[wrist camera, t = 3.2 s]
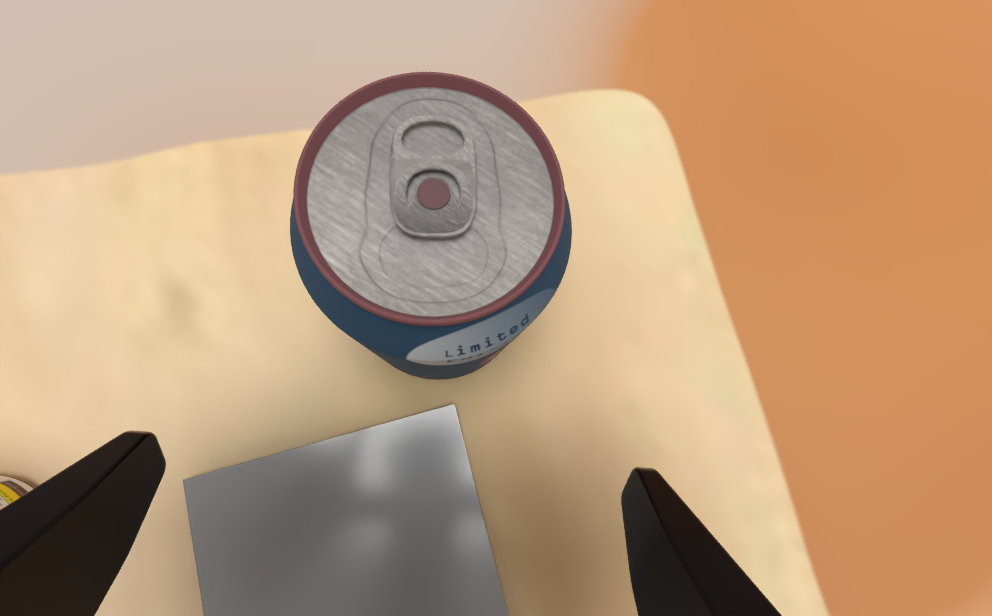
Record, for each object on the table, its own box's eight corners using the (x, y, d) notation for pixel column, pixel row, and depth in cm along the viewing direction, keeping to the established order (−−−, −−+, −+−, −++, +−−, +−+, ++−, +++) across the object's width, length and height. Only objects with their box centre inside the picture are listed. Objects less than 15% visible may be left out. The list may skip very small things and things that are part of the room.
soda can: (517, 378, 21) (605, 350, 10) (360, 382, 21) (249, 358, 9) (512, 232, 23) (582, 53, 11) (364, 231, 22) (271, 38, 10)
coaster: (522, 671, 19) (524, 680, 19) (239, 777, 17) (231, 791, 17) (454, 403, 21) (454, 403, 20) (190, 477, 19) (182, 479, 19)
